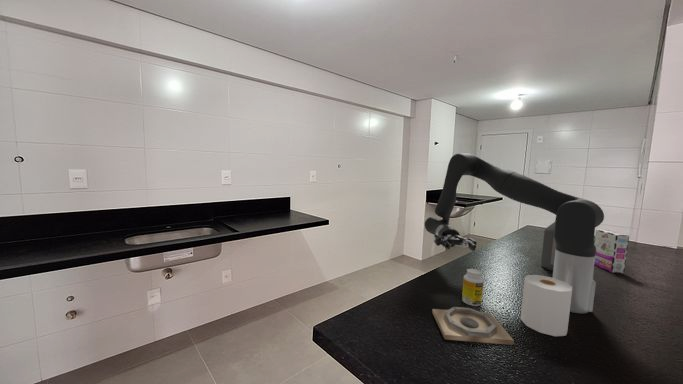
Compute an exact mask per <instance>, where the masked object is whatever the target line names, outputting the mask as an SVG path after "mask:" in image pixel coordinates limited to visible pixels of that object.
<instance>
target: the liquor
mask: <svg viewBox="0 0 683 384" xmlns="http://www.w3.org/2000/svg"><path fill="white" fill-rule="evenodd" d="M554 236H555V221H553V223H551V224H550V225H548V226H547V227H546V228H544V232H543V242H542V253H541V261H540V265H541V267H543V268H545V269H546V270H548V271H550V272H551V271H552V272H553V269H554V260H555V251H556V242H555V238H554Z"/></svg>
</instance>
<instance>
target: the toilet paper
mask: <svg viewBox="0 0 683 384" xmlns="http://www.w3.org/2000/svg"><path fill="white" fill-rule="evenodd" d="M572 288H573V287H572V286H570V285H569V284H567V283H565V282H563V281H560V280H557V279H554V278H553V277H551V276H545V275H540V274H529V275H528V274H527V275H526V276H525V277H524V280H523V290H522V300H521V309H520V320H521V322H523V324H524V325H525V326H526V327H528V328H530V329H532V330H533V331H536V332H538V333H541V334H543V335H544V334H545V335H549V336H552V337H564V336H567V334H568V329H569V328H568V327H569V321H570V320H569V319H570V305H571V296H572Z"/></svg>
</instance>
